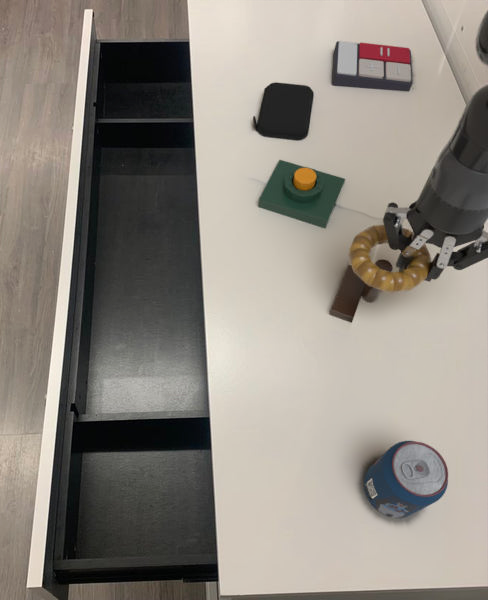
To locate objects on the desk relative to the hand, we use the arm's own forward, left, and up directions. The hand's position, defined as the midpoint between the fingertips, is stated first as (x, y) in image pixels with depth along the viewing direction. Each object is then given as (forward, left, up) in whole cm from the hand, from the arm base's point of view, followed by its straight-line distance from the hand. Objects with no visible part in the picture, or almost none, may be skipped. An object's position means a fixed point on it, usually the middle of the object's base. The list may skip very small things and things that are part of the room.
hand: (415, 271), depth 71 cm
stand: (+4, 0, -11) cm, 11 cm away
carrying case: (+30, -34, -11) cm, 47 cm away
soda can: (-6, +26, -11) cm, 29 cm away
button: (+20, -16, -7) cm, 26 cm away
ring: (+4, 0, +1) cm, 4 cm away
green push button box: (+20, -16, -11) cm, 28 cm away
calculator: (+18, -52, -11) cm, 56 cm away
